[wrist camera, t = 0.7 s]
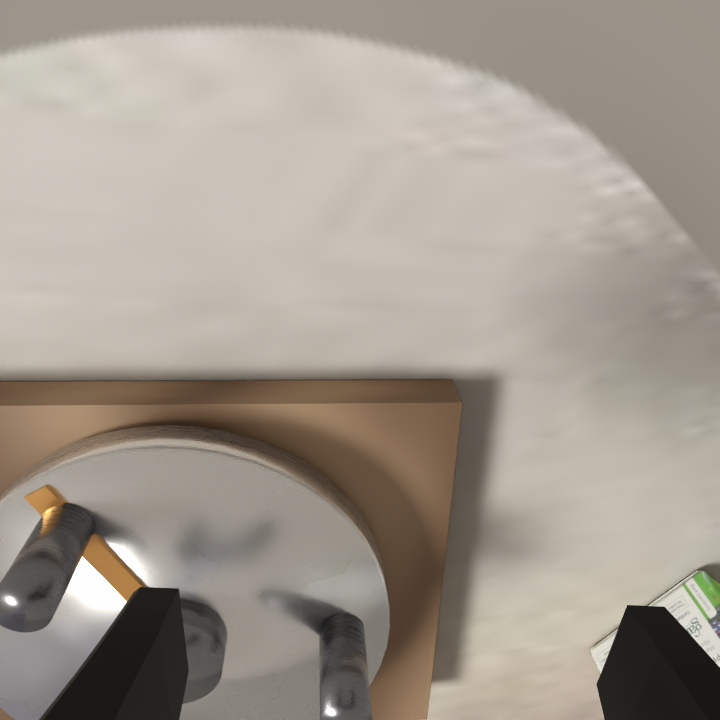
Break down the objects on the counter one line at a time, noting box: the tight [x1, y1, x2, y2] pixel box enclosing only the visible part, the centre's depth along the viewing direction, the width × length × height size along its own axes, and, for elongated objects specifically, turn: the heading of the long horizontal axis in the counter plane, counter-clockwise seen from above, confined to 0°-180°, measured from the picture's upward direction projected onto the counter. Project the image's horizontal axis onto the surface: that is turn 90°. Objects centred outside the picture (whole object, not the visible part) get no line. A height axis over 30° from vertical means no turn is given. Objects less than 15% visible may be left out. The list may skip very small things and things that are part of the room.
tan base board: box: [0, 380, 462, 720], centre depth 21 cm, size 17×14×2 cm
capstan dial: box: [0, 425, 390, 720], centre depth 18 cm, size 13×13×4 cm
